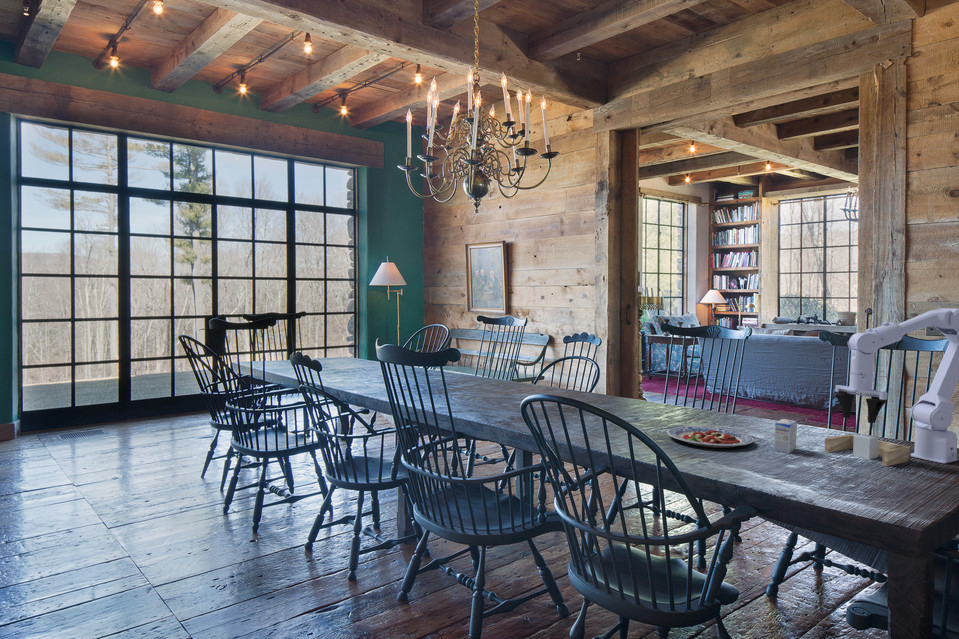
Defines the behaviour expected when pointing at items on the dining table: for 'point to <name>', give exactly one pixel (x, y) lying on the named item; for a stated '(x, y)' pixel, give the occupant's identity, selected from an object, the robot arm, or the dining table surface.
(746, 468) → the dining table surface
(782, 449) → the medicine box
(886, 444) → the birch frame
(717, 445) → the ceramic plate
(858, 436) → the block
